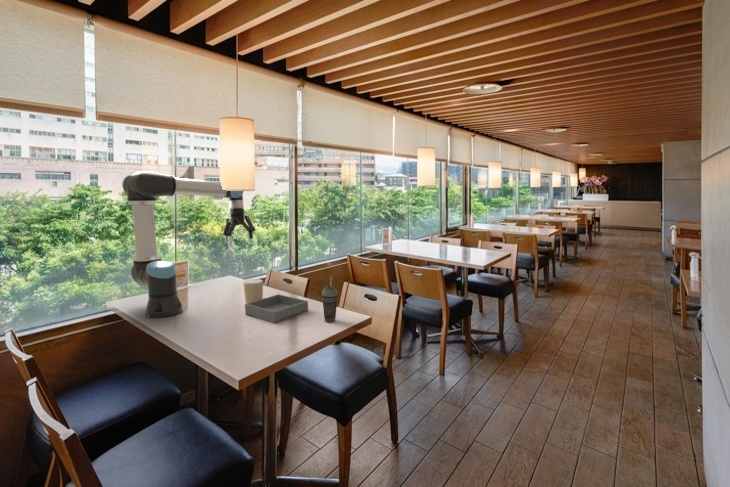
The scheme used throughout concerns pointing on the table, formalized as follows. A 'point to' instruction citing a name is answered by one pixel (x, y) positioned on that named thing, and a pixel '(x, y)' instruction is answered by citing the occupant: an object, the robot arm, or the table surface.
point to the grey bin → (276, 308)
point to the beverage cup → (329, 302)
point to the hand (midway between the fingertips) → (240, 246)
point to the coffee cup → (253, 290)
